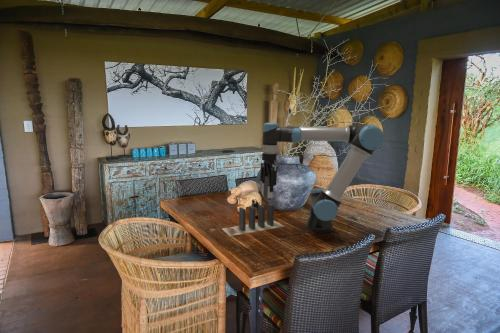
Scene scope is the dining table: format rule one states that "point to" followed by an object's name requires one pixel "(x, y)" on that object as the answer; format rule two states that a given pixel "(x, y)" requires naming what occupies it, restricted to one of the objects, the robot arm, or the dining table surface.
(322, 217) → the robot arm
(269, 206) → the domino
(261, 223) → the domino
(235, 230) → the domino board
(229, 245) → the dining table surface
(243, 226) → the domino
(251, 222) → the domino
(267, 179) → the domino
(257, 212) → the door stopper
